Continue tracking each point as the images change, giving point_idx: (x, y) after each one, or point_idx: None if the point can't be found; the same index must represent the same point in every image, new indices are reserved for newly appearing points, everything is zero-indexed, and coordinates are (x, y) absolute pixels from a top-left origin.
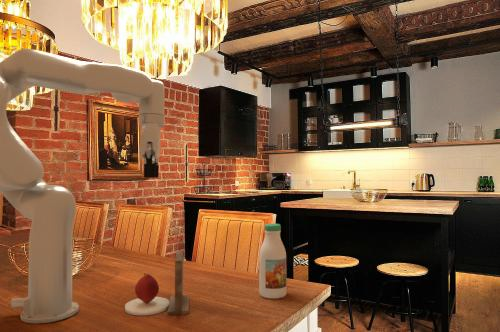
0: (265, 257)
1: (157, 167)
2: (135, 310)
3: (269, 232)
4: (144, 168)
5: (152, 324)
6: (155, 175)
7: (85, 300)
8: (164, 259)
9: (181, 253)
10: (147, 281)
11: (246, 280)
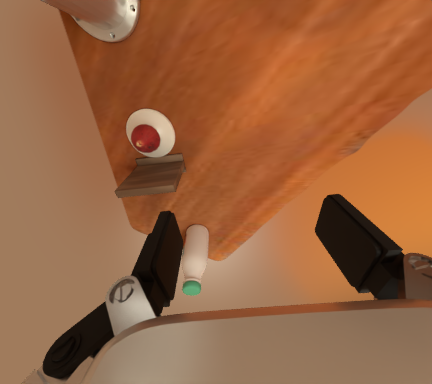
0: (183, 255)
1: (344, 274)
2: (128, 127)
3: (184, 281)
4: (147, 247)
5: (111, 149)
6: (321, 229)
7: (166, 29)
8: (394, 104)
9: (159, 192)
10: (133, 144)
11: (241, 215)
